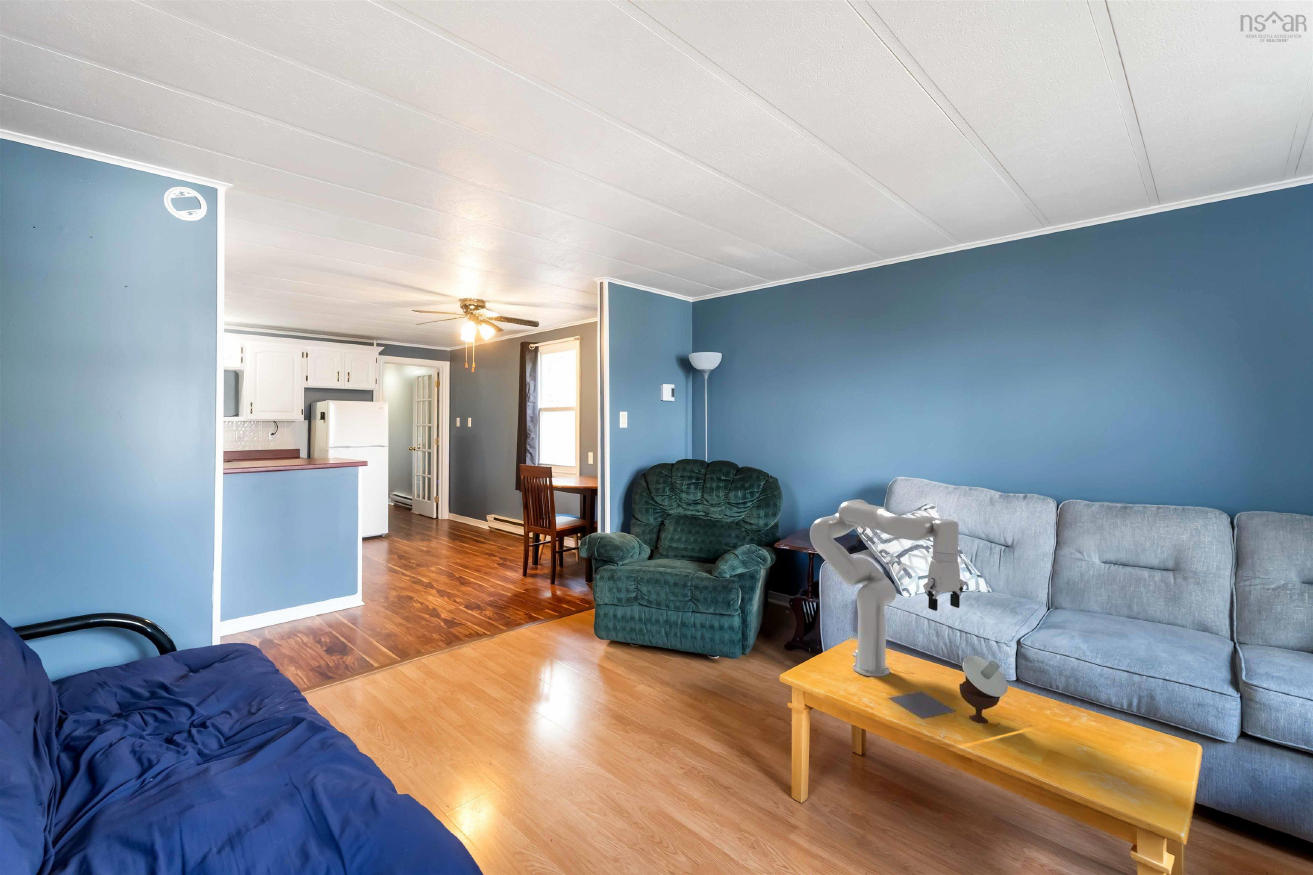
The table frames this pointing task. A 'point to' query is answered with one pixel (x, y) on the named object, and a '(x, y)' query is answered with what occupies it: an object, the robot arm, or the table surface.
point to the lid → (985, 675)
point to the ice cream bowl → (977, 700)
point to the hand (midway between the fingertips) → (943, 608)
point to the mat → (922, 705)
